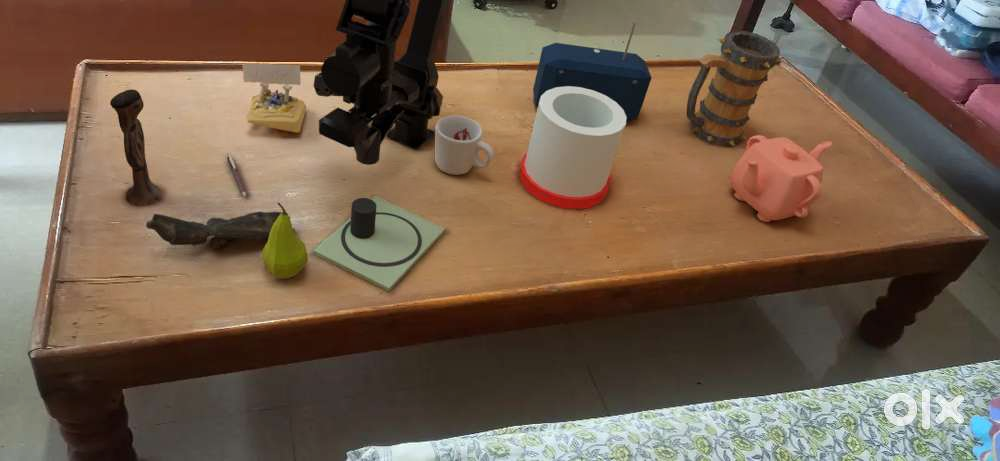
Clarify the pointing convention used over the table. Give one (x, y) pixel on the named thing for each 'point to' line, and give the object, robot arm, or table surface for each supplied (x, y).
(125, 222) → the table surface
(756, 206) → the teapot
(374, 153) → the stamp
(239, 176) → the pen
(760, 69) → the mug
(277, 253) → the fruit
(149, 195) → the figurine
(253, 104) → the cake
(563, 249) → the table surface
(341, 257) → the board
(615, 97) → the radio
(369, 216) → the stamp
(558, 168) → the container
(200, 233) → the statue
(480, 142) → the cup
